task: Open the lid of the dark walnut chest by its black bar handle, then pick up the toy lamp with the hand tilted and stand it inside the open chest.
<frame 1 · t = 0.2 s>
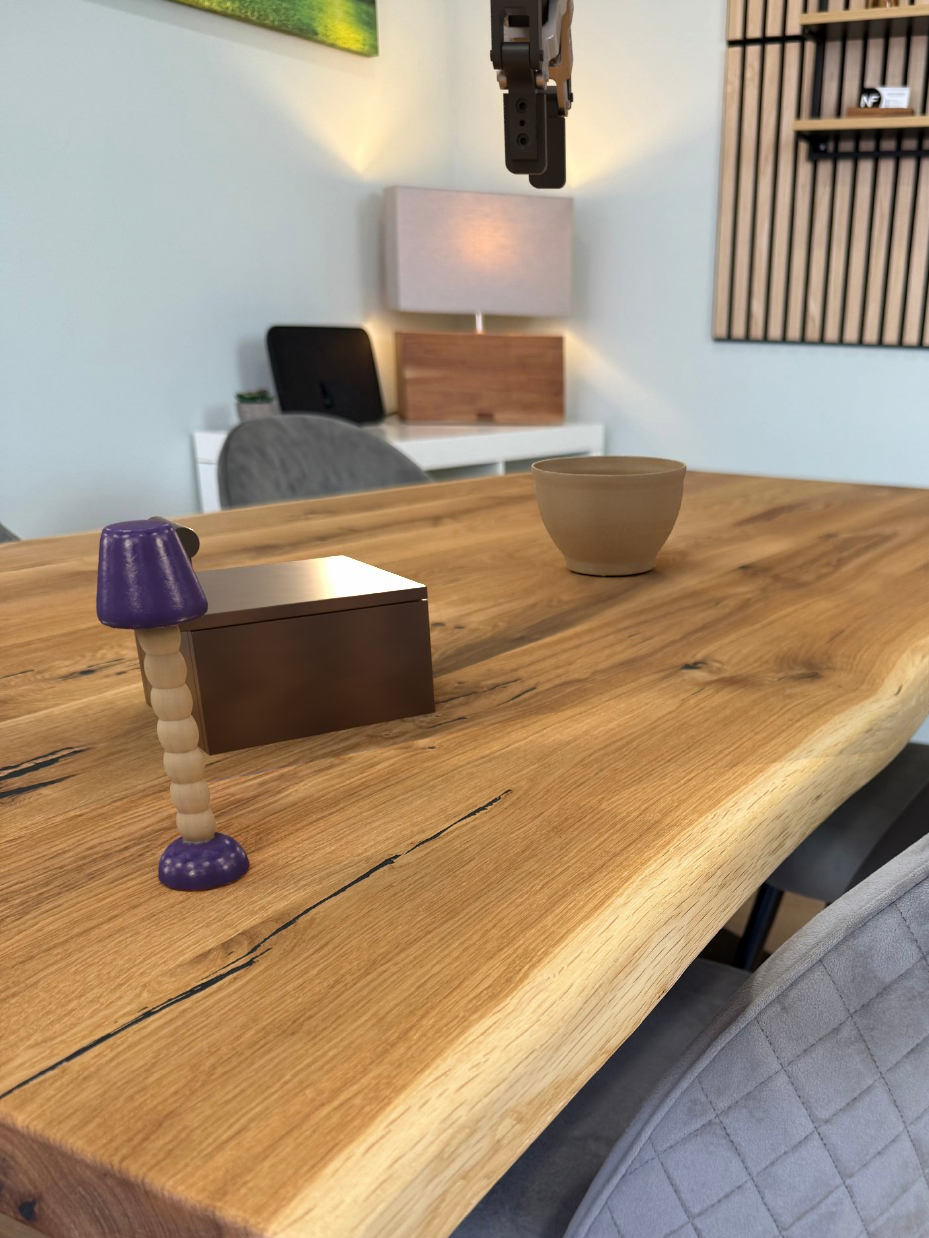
hand: (537, 181, 69), 32 cm above the table, tool pointing down, fingers open, 8 cm apart
planter bowl: (609, 570, 130), on the table
toy lamp: (197, 877, 59), on the table
lid: (265, 555, 74), point 11 cm above the table, hinge at 0.0°
chest: (292, 730, 79), on the table
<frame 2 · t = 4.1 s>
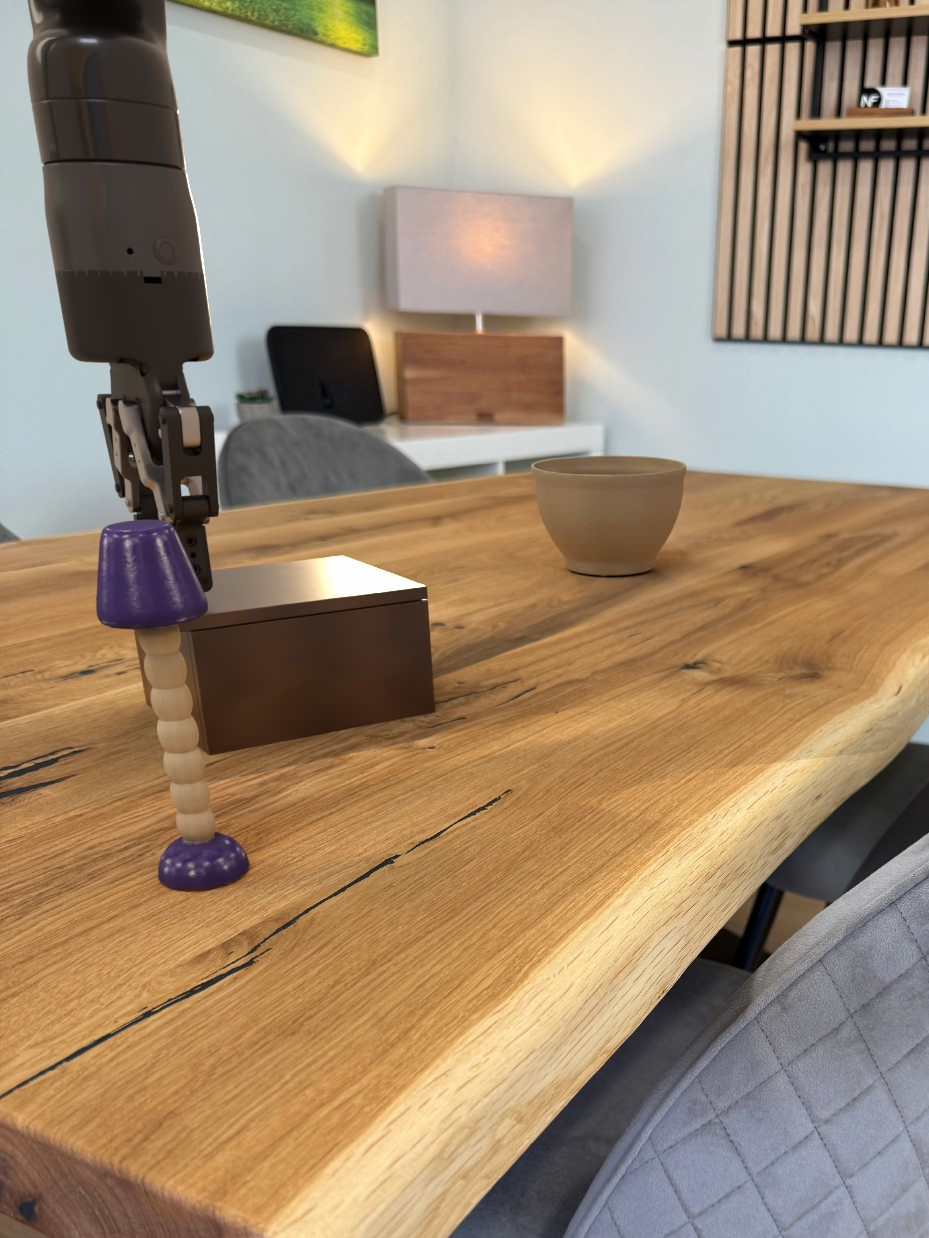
hand: (177, 582, 72), 10 cm above the table, tool pointing down, fingers closed on lid, 5 cm apart
lid: (265, 555, 74), point 11 cm above the table, hinge at 0.0°, touching gripper
everything else where it was.
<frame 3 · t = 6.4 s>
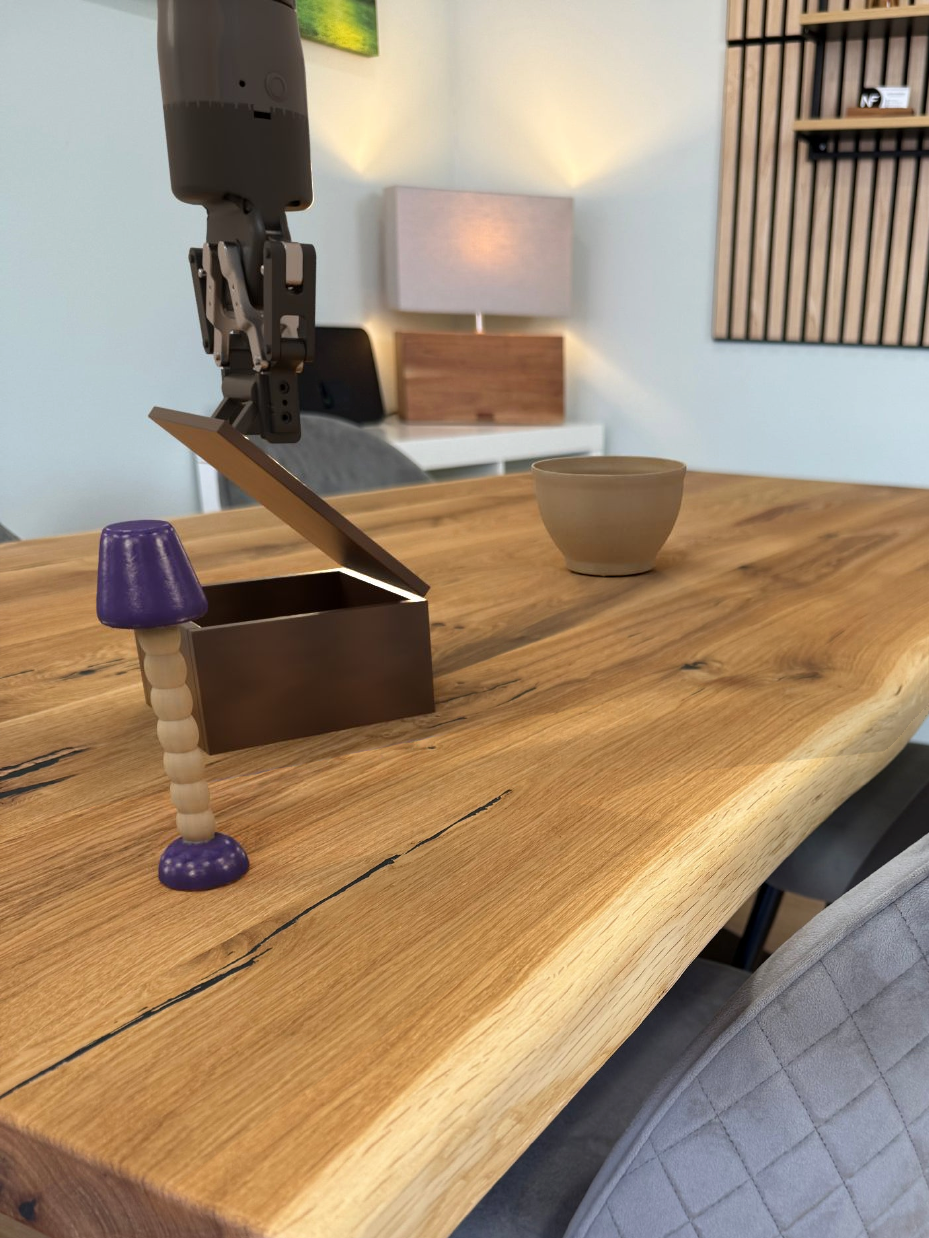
hand: (263, 437, 72), 18 cm above the table, tool pointing down, fingers closed on lid, 5 cm apart
lid: (309, 474, 74), point 16 cm above the table, hinge at 41.7°, touching gripper
everything else where it was.
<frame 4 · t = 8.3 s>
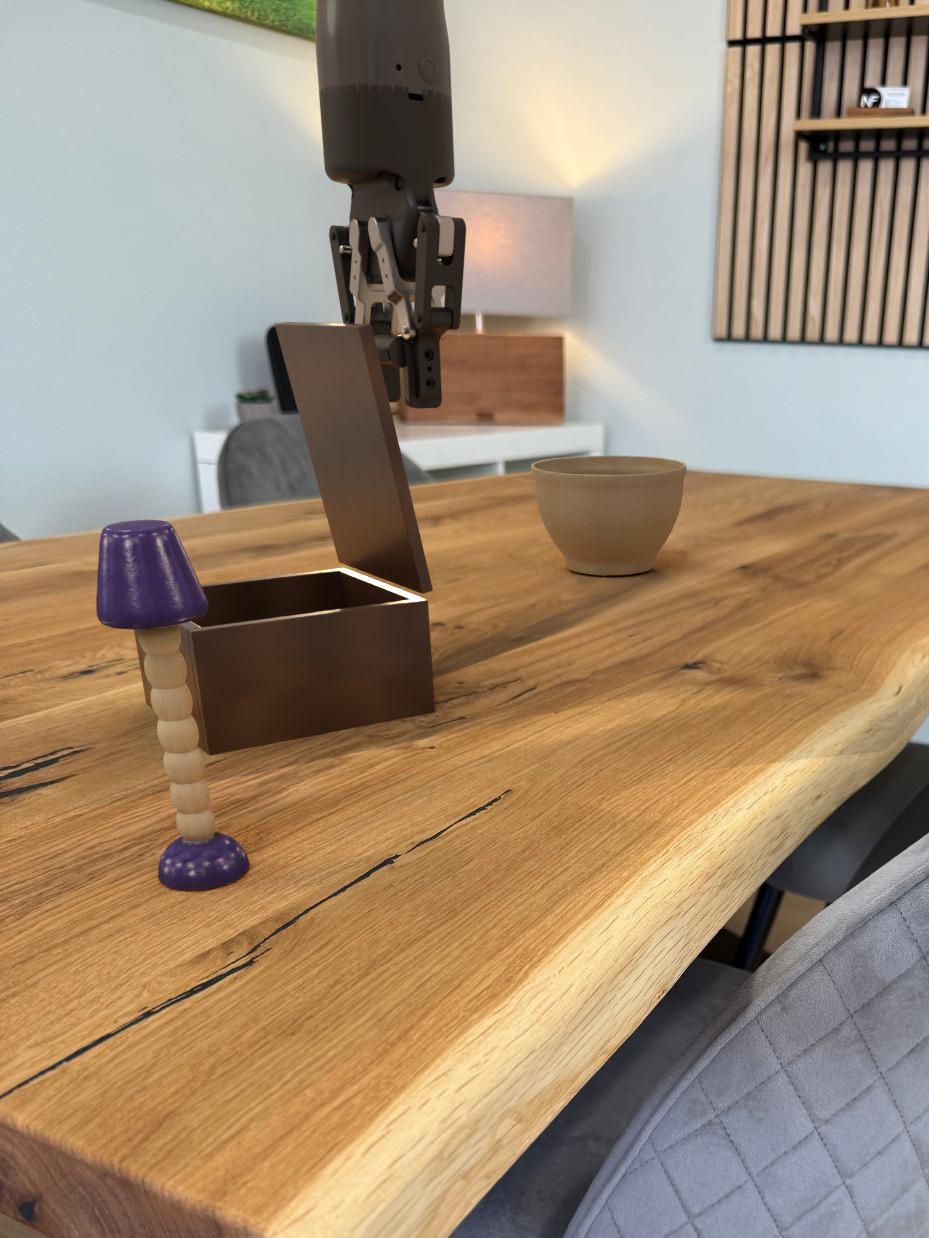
hand: (403, 403, 76), 20 cm above the table, tool pointing down, fingers closed on lid, 5 cm apart
lid: (383, 448, 76), point 17 cm above the table, hinge at 79.6°, touching gripper
everything else where it was.
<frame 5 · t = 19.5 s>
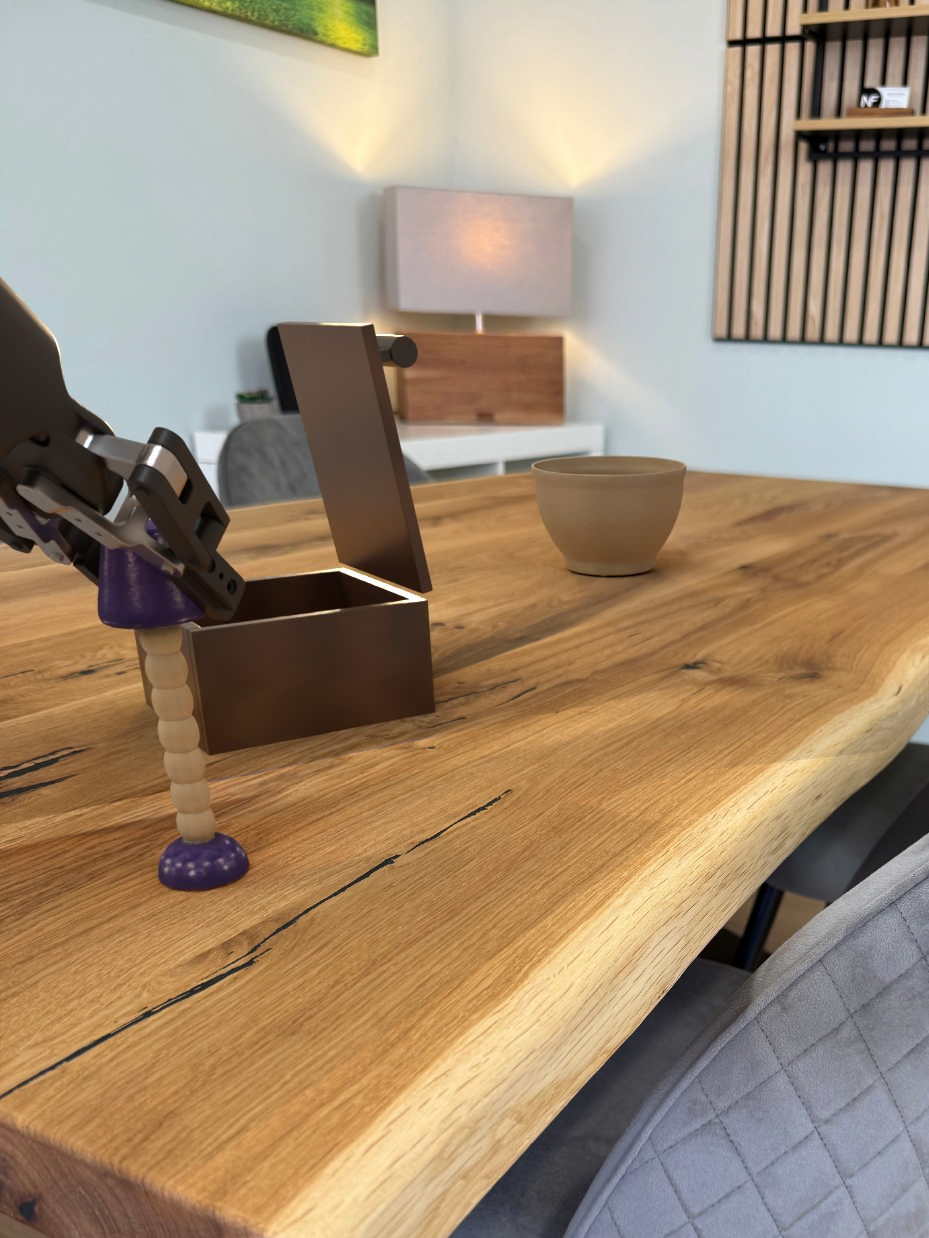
hand: (185, 597, 55), 13 cm above the table, tool tilted 45°, fingers closed on toy lamp, 4 cm apart
toy lamp: (197, 877, 59), on the table, touching gripper
lid: (384, 448, 76), point 17 cm above the table, hinge at 80.1°
everything else where it was.
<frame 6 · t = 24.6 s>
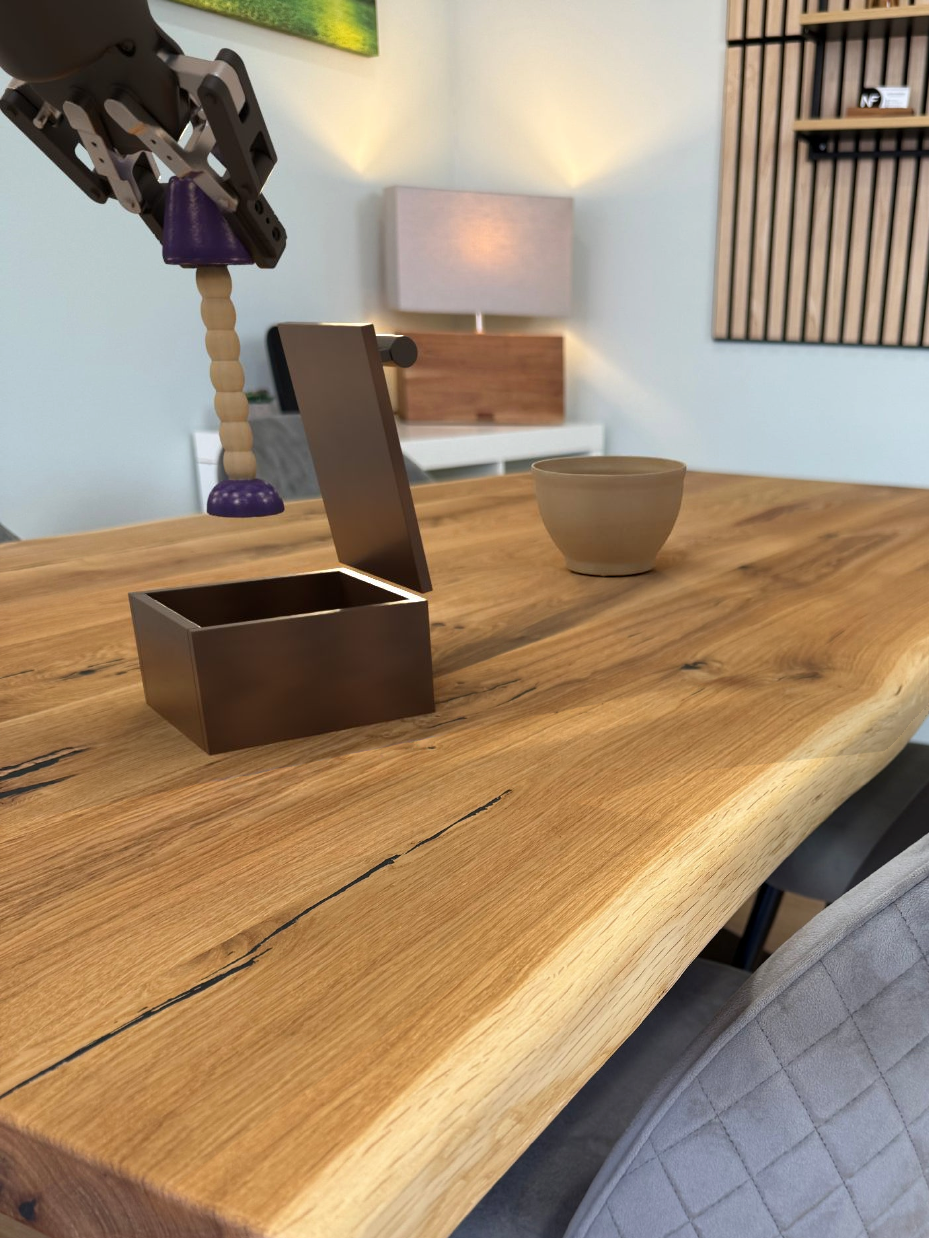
hand: (234, 256, 65), 28 cm above the table, tool tilted 45°, fingers closed on toy lamp, 4 cm apart
toy lamp: (240, 516, 68), point 14 cm above the table, touching gripper
everything else where it was.
when the fingers open (14 cm above the table, at t = 29.5 s): toy lamp stays where it is, resting on chest.
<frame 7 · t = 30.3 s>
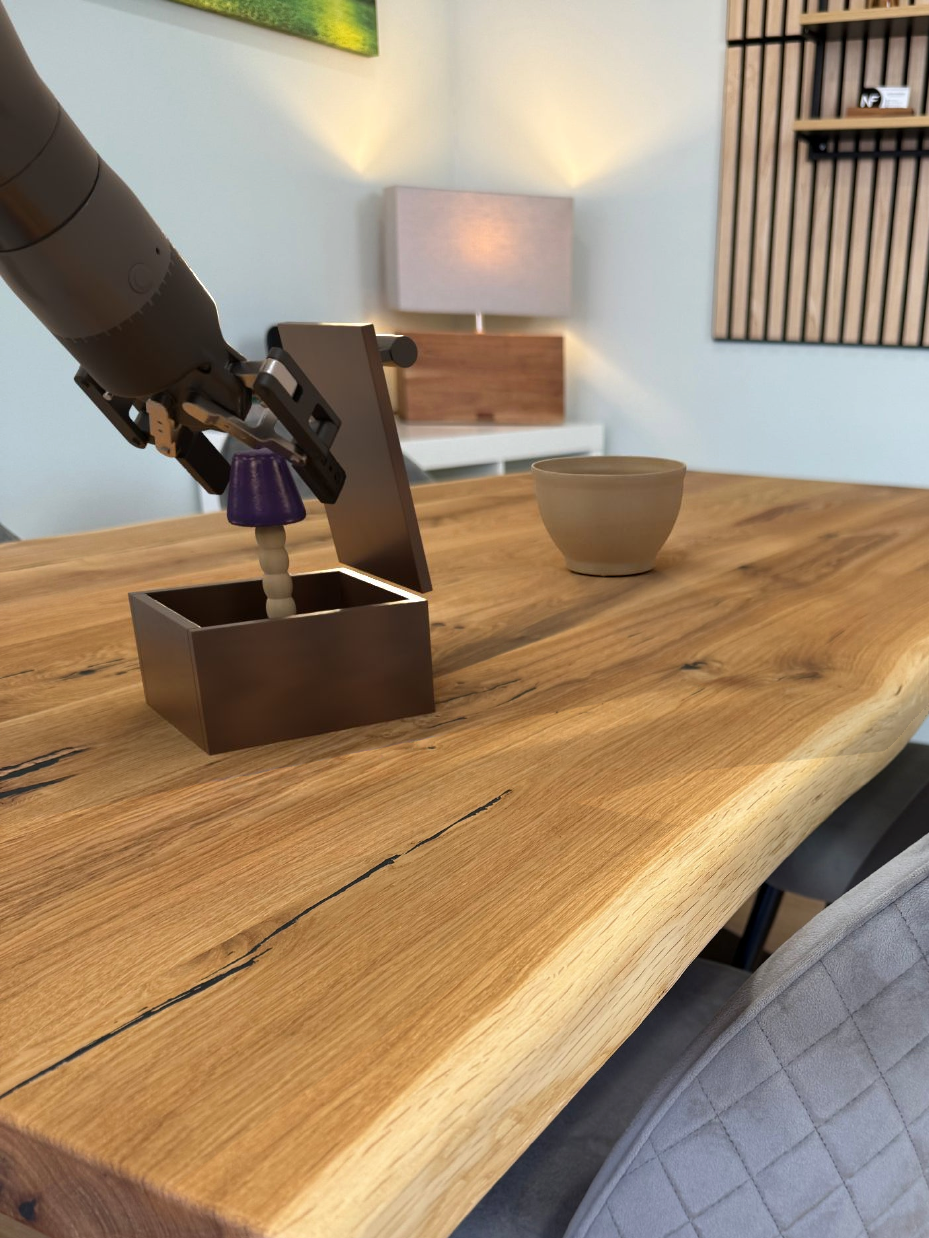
hand: (278, 488, 74), 15 cm above the table, tool tilted 45°, fingers open, 8 cm apart
toy lamp: (291, 722, 79), point 1 cm above the table, touching chest
everything else where it was.
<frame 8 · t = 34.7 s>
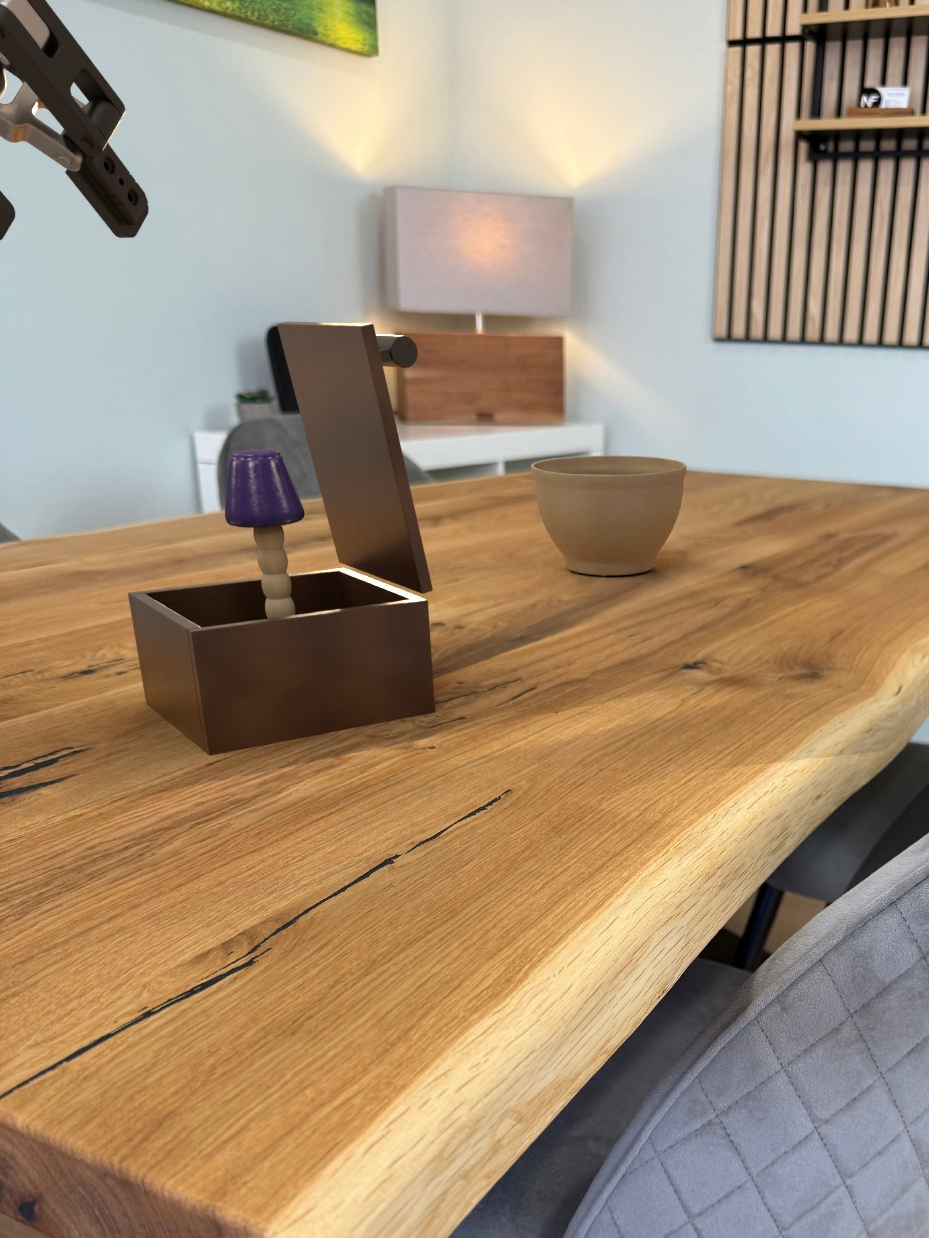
hand: (67, 227, 58), 29 cm above the table, tool tilted 45°, fingers open, 8 cm apart
nothing on the table moved.
at the end: lid at +80° (first picture: +0°); toy lamp inside the target area in the chest (0.2 cm from its centre), point 0.6 cm above the chest's base; toy lamp tilted 0° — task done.
